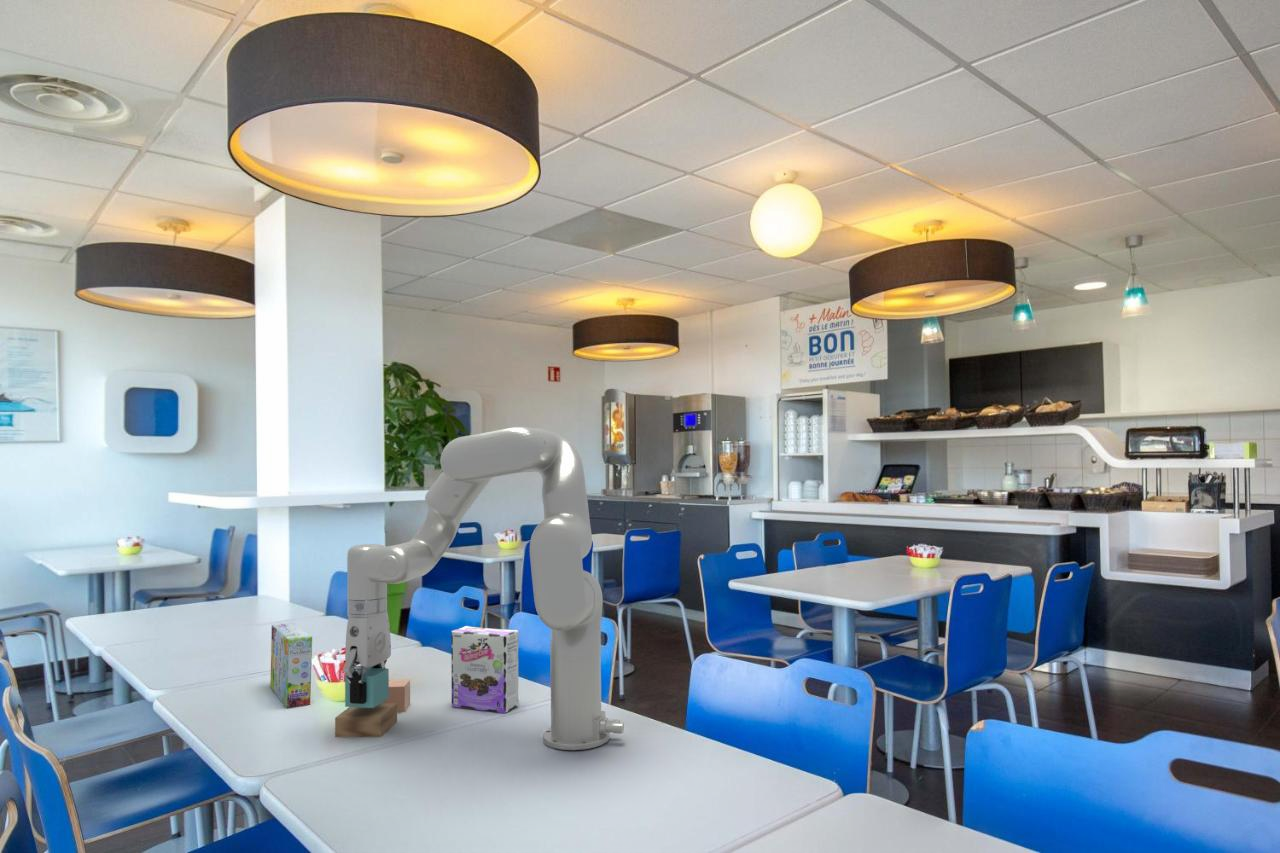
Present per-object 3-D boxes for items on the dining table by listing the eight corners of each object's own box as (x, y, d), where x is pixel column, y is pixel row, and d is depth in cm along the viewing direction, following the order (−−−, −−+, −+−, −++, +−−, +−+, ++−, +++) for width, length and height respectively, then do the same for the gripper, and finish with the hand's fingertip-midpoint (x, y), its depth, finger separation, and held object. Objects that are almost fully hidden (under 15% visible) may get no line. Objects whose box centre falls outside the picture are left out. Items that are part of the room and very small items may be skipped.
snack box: (313, 704, 174) (313, 635, 175) (285, 709, 171) (286, 639, 172) (293, 683, 192) (294, 620, 193) (268, 687, 189) (269, 623, 189)
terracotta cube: (410, 704, 173) (410, 679, 173) (404, 712, 168) (404, 686, 168) (384, 705, 173) (384, 680, 173) (378, 713, 167) (378, 687, 168)
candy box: (450, 707, 171) (449, 630, 171) (465, 699, 176) (465, 625, 177) (505, 714, 165) (504, 634, 166) (519, 706, 171) (519, 629, 172)
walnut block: (397, 723, 162) (397, 703, 162) (381, 738, 153) (381, 717, 153) (353, 723, 162) (353, 703, 162) (335, 738, 153) (335, 717, 153)
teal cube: (388, 698, 160) (388, 668, 160) (373, 707, 154) (373, 676, 154) (361, 697, 161) (361, 667, 161) (345, 706, 155) (345, 675, 155)
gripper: (361, 615, 149) (361, 712, 148) (405, 599, 166) (405, 686, 165) (325, 614, 151) (325, 710, 150) (372, 599, 168) (372, 685, 167)
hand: (367, 697), depth 158 cm, fingers open, 6 cm apart
